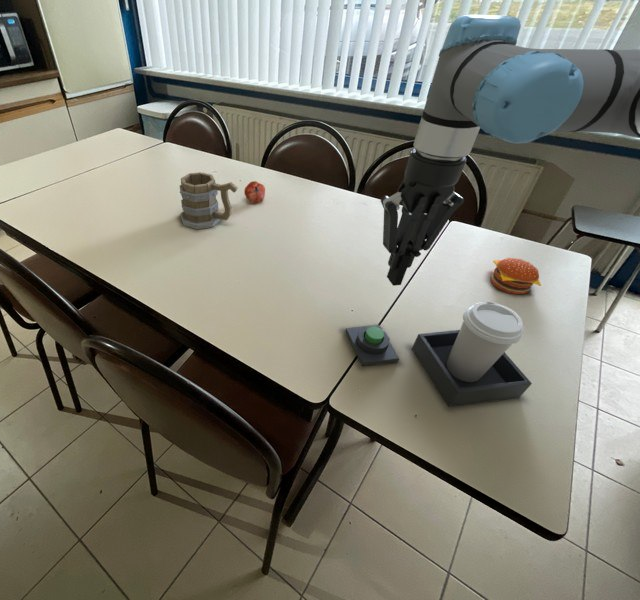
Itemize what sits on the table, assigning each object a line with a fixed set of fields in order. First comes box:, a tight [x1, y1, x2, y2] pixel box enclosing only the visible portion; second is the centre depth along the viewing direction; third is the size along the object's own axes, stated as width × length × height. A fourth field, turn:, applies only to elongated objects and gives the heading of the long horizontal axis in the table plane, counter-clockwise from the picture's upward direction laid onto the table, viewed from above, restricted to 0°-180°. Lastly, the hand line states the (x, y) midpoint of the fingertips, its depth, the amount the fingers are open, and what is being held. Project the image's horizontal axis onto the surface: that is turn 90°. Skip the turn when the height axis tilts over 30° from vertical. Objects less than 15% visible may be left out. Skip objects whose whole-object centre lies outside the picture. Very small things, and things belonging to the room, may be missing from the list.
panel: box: [344, 324, 400, 367], centre depth 79 cm, size 10×8×3 cm
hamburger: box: [489, 257, 542, 295], centre depth 94 cm, size 9×10×7 cm
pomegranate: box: [243, 180, 266, 204], centre depth 130 cm, size 7×7×10 cm
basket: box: [411, 329, 533, 407], centre depth 73 cm, size 15×15×5 cm
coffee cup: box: [446, 301, 524, 382], centre depth 70 cm, size 10×10×15 cm
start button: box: [365, 327, 384, 345], centre depth 78 cm, size 4×4×2 cm
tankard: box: [179, 171, 239, 230], centre depth 116 cm, size 20×13×15 cm, turn 61°
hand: (393, 280), depth 68 cm, fingers closed
